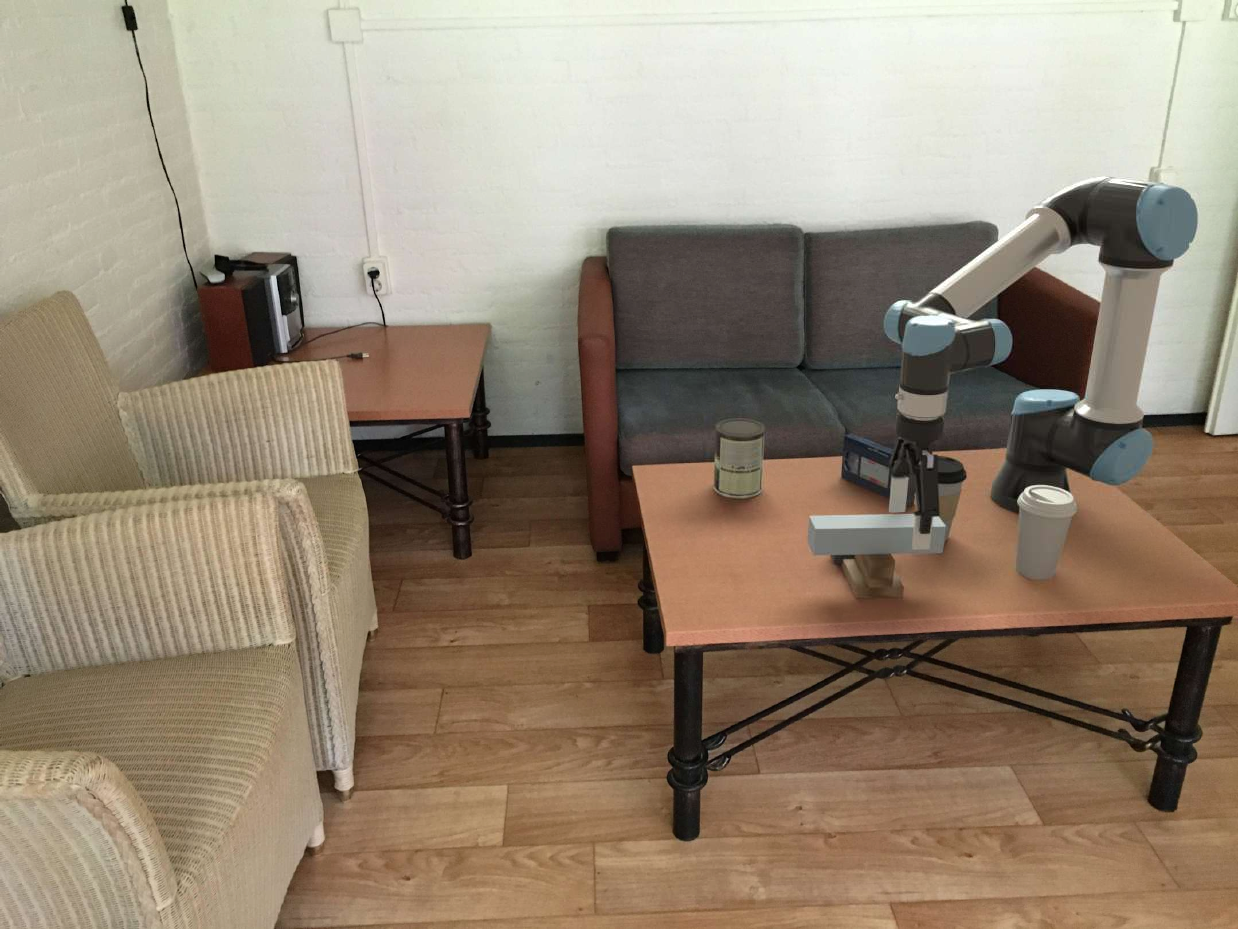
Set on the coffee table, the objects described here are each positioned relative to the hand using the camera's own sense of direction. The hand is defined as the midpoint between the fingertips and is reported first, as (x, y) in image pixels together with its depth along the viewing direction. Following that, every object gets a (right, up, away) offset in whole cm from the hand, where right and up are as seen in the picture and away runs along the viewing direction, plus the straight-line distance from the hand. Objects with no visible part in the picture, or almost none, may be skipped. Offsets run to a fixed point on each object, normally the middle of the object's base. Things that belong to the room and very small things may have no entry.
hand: (908, 529), depth 167 cm
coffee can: (-24, +6, +40) cm, 47 cm away
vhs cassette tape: (+5, +5, +39) cm, 40 cm away
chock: (-5, -6, +12) cm, 14 cm away
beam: (-6, -3, +1) cm, 6 cm away
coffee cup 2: (+25, -8, +7) cm, 27 cm away
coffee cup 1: (+10, -3, +20) cm, 22 cm away
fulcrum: (-5, -10, +4) cm, 12 cm away
